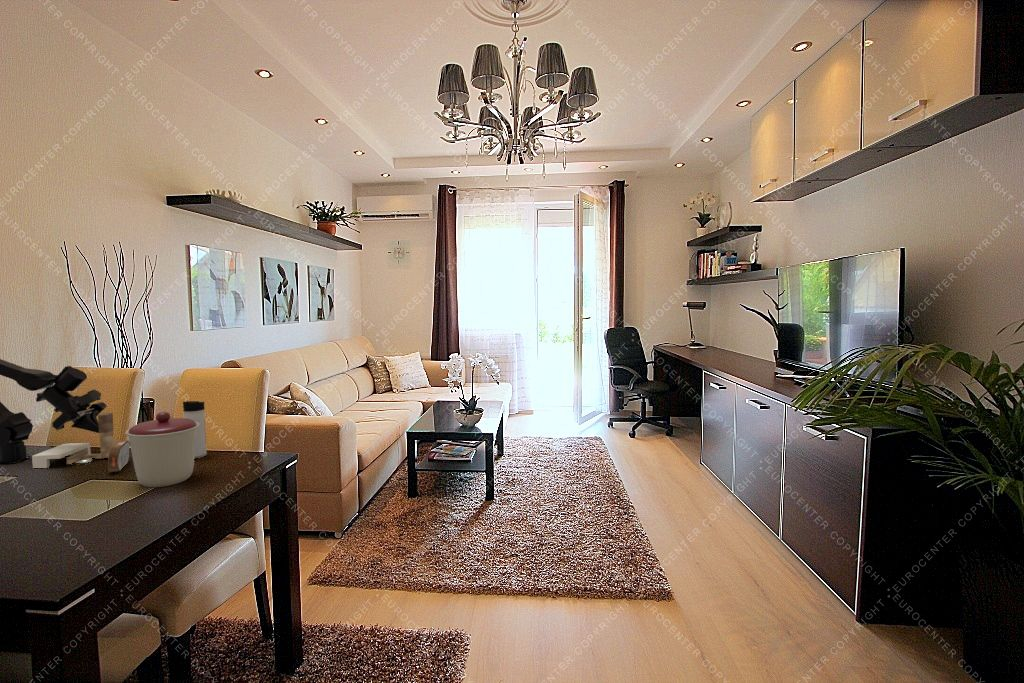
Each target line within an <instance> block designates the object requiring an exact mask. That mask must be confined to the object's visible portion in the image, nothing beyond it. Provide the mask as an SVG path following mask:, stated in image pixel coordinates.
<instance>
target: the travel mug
mask: <svg viewBox="0 0 1024 683" xmlns="http://www.w3.org/2000/svg"><path fill="white" fill-rule="evenodd" d="M182 407H183V411H182V412H183V415H182V416H183V417H182V418H186V419H191V420H194V421H195V422H198V423H199V424H200V425H199V427H198V428H197V436H196V448H195V458H200V457H204V456H206V455H208V453H207V435H206V434H207V433H206V432H207V430H206V409H205V401H199V400H190V401H189V400H188V401H183V402H182ZM206 457H207V456H206ZM204 458H205V457H204Z"/></svg>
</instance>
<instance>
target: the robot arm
mask: <svg viewBox="0 0 1024 683" xmlns="http://www.w3.org/2000/svg"><path fill="white" fill-rule="evenodd" d="M0 376H2V377H4V378H9V379H11V380H13V381H15V382H16V383H17V385H18V386H19V387H22V388H24V389H26V390H27V391H30V392H31V391H32V392H35V391H39V390H43V391H42V392H38V393H36V399H35V402H38V403H39V402H43V401H46V402H48V403H49V404H50V405H51V406H52V407H53V408H55V409H54V410H53V411H54V412H55V413H61V414H59V415H58V416H57V418H55V419H54V421H53V422H51V423H52V424H51V426H52V428H54V430H56V431H60V430H63V429H64V428H65V424H66V423H68V422H71V421H72V423H73V424H72V425H71V428H76V429H79V430H83V431H89V432H92V433H97V434H100V433H99V423H98V415H101V413H102V412H103V411H104V410H105V409H106V408H107V407H108V405H107V404H106V403H104V402H103V401H99V400H102V398H101V396H102V393H101V392H99V390H96V389H91V390H90V391H87V392H86V393H84V394H83V395H72V393H70V392H73V391H76V390H77V389H78V387H79V386H81V385H82V384H83V383H84V382H85V381H86V380H87V378H88V375H87V374H86V373H85V372H84V371H83V370H81V369H79V368H76V367H73V366H71V365H67V366H65V367H63V369H62V370H61V371H60V372H59V373H58V374H53V373H52V372H51V371H47V370H41V369H36V368H35V369H33V368H26V367H24V366H20V365H17V364H15V363H12V362H10V361H7V360H4V359H2V358H0ZM96 401H98V402H96ZM94 402H95V403H94ZM91 403H92V404H91ZM32 421H33V420H32V419H30V418H28V417H27V415H26V414H25V413H24V412H22V411H20V412H16V413H14V412H12V411H11V410H9V408H8V407H7V406H5V404H4V403H3V402H1V401H0V463H8V464H15V463H14V462H16V463H18V462H17V461H19V460H22V459H24V458H26V457H27V446H26V445H25V441H27V440H29V438H30V435H31V433H32V432H33V428H34V425H33V424H32ZM24 460H25V459H24ZM22 461H23V460H22ZM19 462H20V461H19Z"/></svg>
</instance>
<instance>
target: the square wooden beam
mask: <svg viewBox="0 0 1024 683" xmlns="http://www.w3.org/2000/svg"><path fill="white" fill-rule="evenodd" d="M113 414H114V413H113V412H110V413H109V412H105V413H102V414H101V413H100V414H99V415H98V416H97V420H98V423H99V433H98V434H99V445H100V447H99V448H100V453H91V454H88V451H83V452H80V453H78V454H75V455H73V456H71V457H65V458H66V465H67V464H71V465H73V464H72V463H74V462H75V461H76V460H78V459H82V458H95V459H101V460H103V459H104V458H108V456H109V452H110V449H111V447H112V446H113V445H114V444H115V441H114V440H115V439H114V415H113ZM102 458H103V459H102ZM74 464H75V463H74Z"/></svg>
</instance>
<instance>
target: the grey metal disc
mask: <svg viewBox="0 0 1024 683" xmlns="http://www.w3.org/2000/svg"><path fill="white" fill-rule="evenodd" d="M92 460H93V459H92V458H82V459H78V460H76V461H75V463H88V462H91V461H92ZM75 463H74V464H75Z"/></svg>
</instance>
